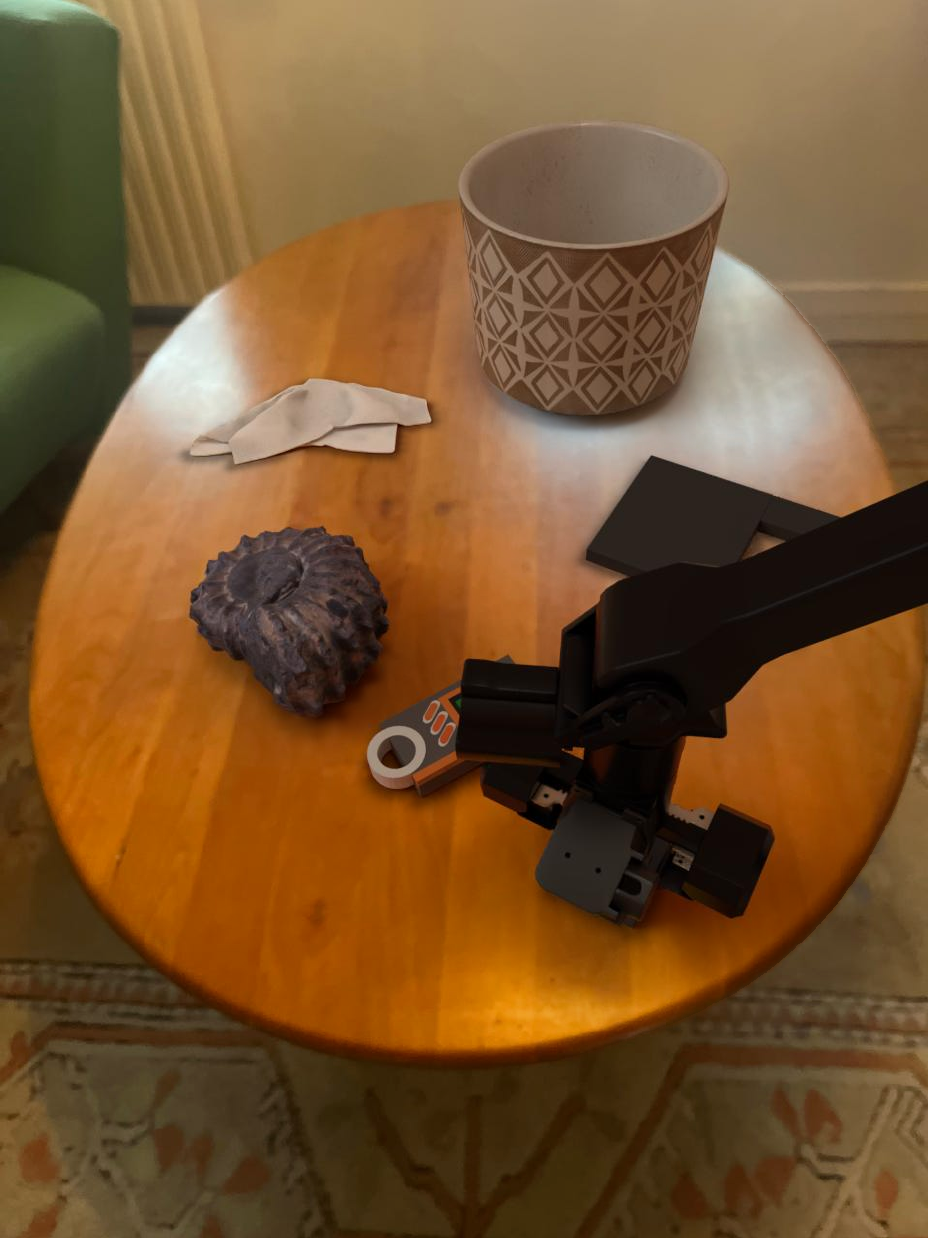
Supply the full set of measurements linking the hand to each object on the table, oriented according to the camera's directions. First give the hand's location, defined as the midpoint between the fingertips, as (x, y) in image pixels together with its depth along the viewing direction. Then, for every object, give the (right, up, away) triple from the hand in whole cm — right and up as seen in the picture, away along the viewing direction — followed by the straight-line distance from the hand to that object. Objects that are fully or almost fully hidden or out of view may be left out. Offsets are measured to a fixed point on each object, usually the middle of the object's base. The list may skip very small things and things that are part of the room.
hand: (612, 865), depth 69 cm
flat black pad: (+13, +25, +21) cm, 35 cm away
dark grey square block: (0, -1, +1) cm, 1 cm away
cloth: (-27, +40, +36) cm, 60 cm away
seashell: (-26, +15, +16) cm, 33 cm away
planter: (+3, +47, +40) cm, 62 cm away
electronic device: (-11, +8, +9) cm, 17 cm away
